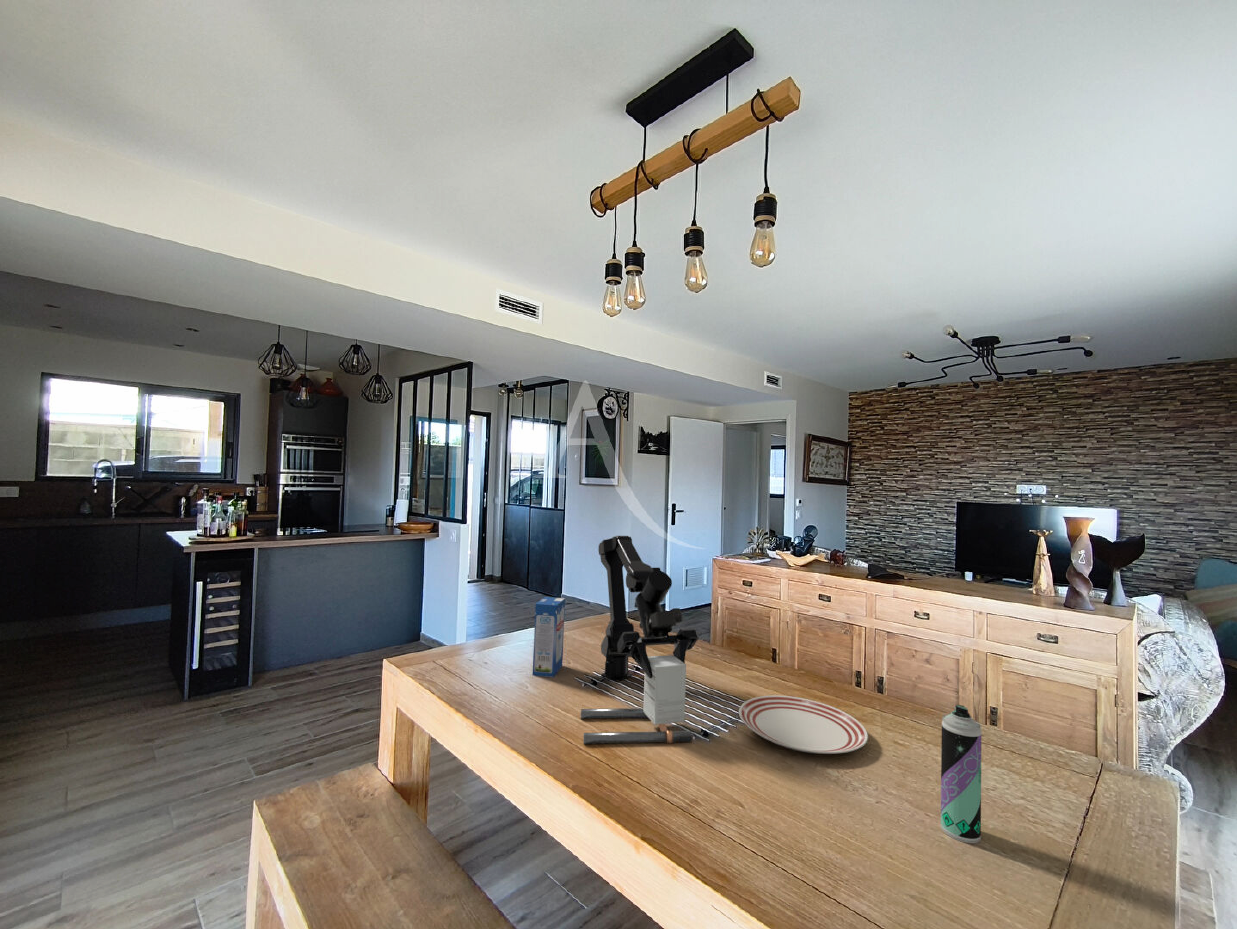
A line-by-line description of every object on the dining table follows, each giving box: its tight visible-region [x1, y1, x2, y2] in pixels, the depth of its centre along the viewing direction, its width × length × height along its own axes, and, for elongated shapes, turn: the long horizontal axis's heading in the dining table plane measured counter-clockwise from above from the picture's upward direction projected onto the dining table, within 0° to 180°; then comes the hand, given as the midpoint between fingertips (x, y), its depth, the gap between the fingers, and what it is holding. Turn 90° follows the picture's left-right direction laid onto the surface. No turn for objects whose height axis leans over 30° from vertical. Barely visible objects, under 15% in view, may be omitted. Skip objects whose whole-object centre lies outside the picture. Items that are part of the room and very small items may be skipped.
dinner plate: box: [738, 694, 869, 755], centre depth 120 cm, size 27×27×3 cm
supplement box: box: [642, 654, 687, 726], centre depth 119 cm, size 7×7×13 cm
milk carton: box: [532, 596, 566, 678], centre depth 154 cm, size 10×6×20 cm, turn 172°
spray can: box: [940, 704, 982, 844], centre depth 86 cm, size 6×6×20 cm
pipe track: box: [580, 707, 693, 745], centre depth 118 cm, size 23×15×3 cm, turn 97°
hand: (667, 676), depth 118 cm, fingers closed on supplement box, 7 cm apart
